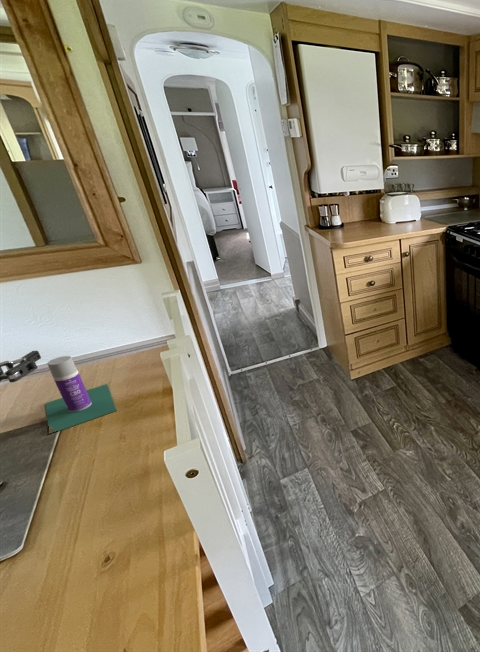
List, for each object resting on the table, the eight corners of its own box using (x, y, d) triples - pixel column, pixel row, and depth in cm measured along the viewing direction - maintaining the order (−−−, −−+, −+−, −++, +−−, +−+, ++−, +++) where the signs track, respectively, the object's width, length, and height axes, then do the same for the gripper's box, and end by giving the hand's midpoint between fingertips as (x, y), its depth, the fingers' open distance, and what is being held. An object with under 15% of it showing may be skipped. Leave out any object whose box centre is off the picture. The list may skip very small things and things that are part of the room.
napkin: (116, 410, 104) (116, 410, 104) (49, 434, 95) (48, 433, 95) (107, 384, 115) (106, 383, 115) (45, 403, 106) (45, 403, 106)
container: (79, 412, 102) (57, 365, 97) (63, 411, 103) (41, 364, 97) (96, 402, 107) (76, 356, 101) (81, 400, 107) (61, 355, 101)
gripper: (-20, 377, 73) (46, 338, 88) (-116, 385, 70) (-31, 344, 84) (-3, 408, 76) (58, 366, 90) (-94, 417, 73) (-16, 372, 87)
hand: (15, 355), depth 87 cm, fingers open, 8 cm apart
